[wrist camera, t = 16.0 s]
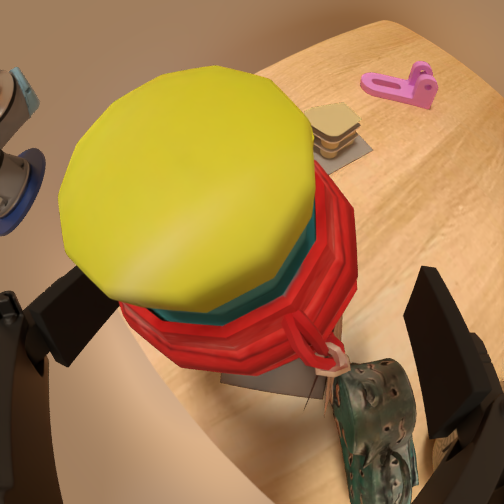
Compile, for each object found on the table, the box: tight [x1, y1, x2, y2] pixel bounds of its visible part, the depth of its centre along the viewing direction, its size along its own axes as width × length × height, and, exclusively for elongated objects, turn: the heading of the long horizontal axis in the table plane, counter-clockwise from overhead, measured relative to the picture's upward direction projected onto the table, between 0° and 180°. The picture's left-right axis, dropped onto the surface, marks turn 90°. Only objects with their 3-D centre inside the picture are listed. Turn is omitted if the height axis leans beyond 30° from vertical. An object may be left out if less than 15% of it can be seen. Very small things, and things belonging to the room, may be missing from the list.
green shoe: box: [327, 358, 419, 504], centre depth 18 cm, size 20×6×20 cm, turn 12°
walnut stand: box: [220, 353, 329, 399], centre depth 30 cm, size 10×14×6 cm
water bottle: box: [58, 65, 358, 416], centre depth 15 cm, size 12×8×25 cm, turn 42°
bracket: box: [360, 61, 438, 109], centre depth 38 cm, size 13×6×7 cm, turn 79°
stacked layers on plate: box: [304, 102, 373, 175], centre depth 36 cm, size 10×9×6 cm
